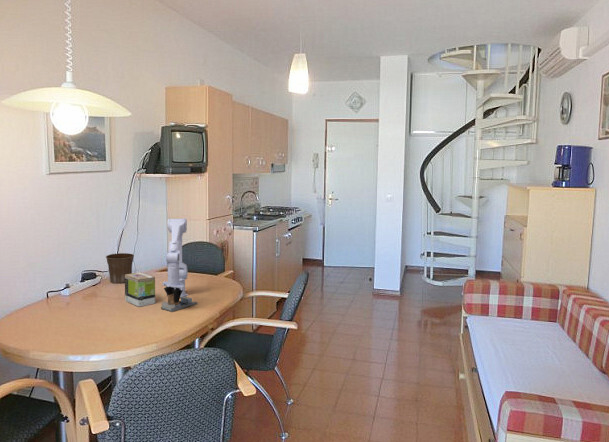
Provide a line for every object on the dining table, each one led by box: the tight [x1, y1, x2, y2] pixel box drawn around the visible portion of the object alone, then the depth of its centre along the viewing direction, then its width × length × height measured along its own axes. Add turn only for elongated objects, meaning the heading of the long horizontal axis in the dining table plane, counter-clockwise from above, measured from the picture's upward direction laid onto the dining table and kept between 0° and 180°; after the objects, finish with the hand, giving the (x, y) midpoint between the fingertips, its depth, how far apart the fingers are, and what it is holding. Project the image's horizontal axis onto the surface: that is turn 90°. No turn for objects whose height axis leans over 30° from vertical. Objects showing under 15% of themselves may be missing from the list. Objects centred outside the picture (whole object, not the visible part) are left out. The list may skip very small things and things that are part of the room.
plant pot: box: [105, 252, 135, 285], centre depth 293 cm, size 16×16×16 cm
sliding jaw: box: [180, 296, 193, 304], centre depth 250 cm, size 6×2×3 cm, turn 56°
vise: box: [160, 300, 198, 313], centre depth 246 cm, size 8×17×3 cm, turn 146°
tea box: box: [124, 271, 156, 307], centre depth 252 cm, size 15×10×15 cm
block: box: [167, 294, 179, 306], centre depth 243 cm, size 4×4×5 cm
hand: (173, 301), depth 243 cm, fingers closed on block, 4 cm apart
